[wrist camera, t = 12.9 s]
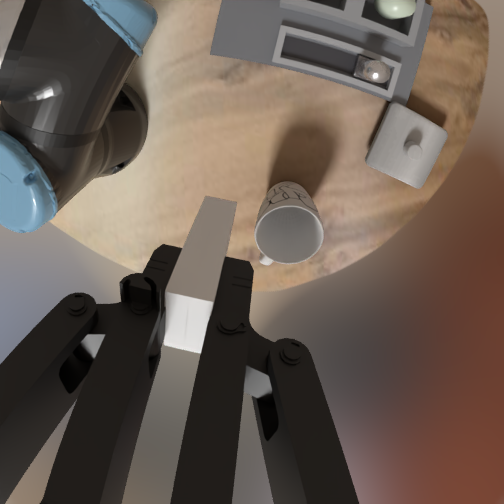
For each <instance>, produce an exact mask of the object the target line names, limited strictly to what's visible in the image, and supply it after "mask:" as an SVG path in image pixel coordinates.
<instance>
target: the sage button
mask: <svg viewBox="0 0 504 504" xmlns="http://www.w3.org/2000/svg"><path fill="white" fill-rule="evenodd" d="M374 6H375V9H376V11H377V12H378V13H379V14H380V15H381V16H382V17H384V18H386V19H391V20H393V19H398V18H403V17H407V16H410V15H412V14H413V13H414V12H415V9H416V2H415V0H374Z"/></svg>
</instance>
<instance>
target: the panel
mask: <svg viewBox="0 0 504 504" xmlns="http://www.w3.org/2000/svg"><path fill="white" fill-rule="evenodd" d="M415 2H416V9H415V12H414V13H413V14H412V15H410V16H407V17H403V18H398V19H393V20H391V19H386V18H384V17H382V16H381V15H380V14H379V13H378V12H377V11H376V9H375V6H374V0H222V3H221V7H220V11H219V15H218V20H217V24H216V29H215V33H214V38H213V42H212V47H211V52H210V55H217V56H223V57H230V58H236V59H242V60H247V61H252V62H257V63H262V64H267V65H272V66H276V67H281V68H285V69H289V70H293V71H297V72H301V73H305V74H309V75H312V76H316V77H319V78H323V79H326V80H330V81H333V82H336V83H339V84H343V85H346V86H349V87H352V88H355V89H358V90H361V91H363V92H366V93H369V94H372V95H374V96H377V97H380V98H382V99H385V100H388V101H390V102H397V103H399V104H401V105H403V106H405V107H406V104H407V101H408V98H409V95H410V92H411V89H412V85H413V82H414V79H415V75H416V72H417V69H418V65H419V62H420V58H421V55H422V51H423V47H424V43H425V40H426V36H427V32H428V28H429V24H430V20H431V16H432V11H433V7H432V6H430V5H429V4H427V3H425V0H415ZM357 56H362V57H365V58H367V59H370V60H378V61H383V62H385V63H386V64H387V65H388V66H389V68H390V77H389V79H388V80H387V81H386V82H384V83H377V82H375V83H372V82H370V81H367V80H364V79H361V78H358V77H356V76H353V75H352V71H353V68H354V64H355V61H356V57H357Z"/></svg>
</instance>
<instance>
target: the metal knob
mask: <svg viewBox="0 0 504 504" xmlns="http://www.w3.org/2000/svg"><path fill="white" fill-rule="evenodd" d="M352 75H353V76H356V77H358V78H361V79H364V80H367V81H370V82H372V83H375V82H377V83H384V82H386V81H387V80H388V79H389V77H390V68H389V66H388V65H387V64H386V63H385V62H383V61H378V60H370V59H367V58H365V57H362V56H357V57H356V61H355V64H354V68H353V71H352Z"/></svg>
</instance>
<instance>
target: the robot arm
mask: <svg viewBox="0 0 504 504" xmlns="http://www.w3.org/2000/svg"><path fill="white" fill-rule="evenodd" d="M157 19H158V17H157V12H156V10H155V9H154V7H153V6H152V5H150V4H149V3H147V2H146V1H144V0H0V101H1V104H0V224H1V225H3V226H4V227H6V228H7V229H10V230H12V231H15V232H19V233H25V232H33V231H35V230H37V229H38V228H40V227H41V226H42V225H43V224H45V223H46V222H48V221H49V220H51V219H52V218H54V216H55V215H56V213H57V212H58V211H59V210H60V209H61V208H62V207H63V206H64V205H65V204H66V203H67V202H68V201H69V200H71V199H72V198H73V197H74V196H75V195H76V194H77V193H78V192H79V191H80V190H81V189H82V188H84V187H85V186H86V185H87V184H88V183H89V182H90V181H91V180H93V179H94V178H99V177H104V176H109V175H112V174H115V173H117V172H119V171H121V170H122V169H124V168H125V167H126V166H128V165H129V164H130V163H131V162H132V161H133V160H134V159H135V158H136V157H137V156H138V154H139V153H140V151H141V149H142V147H143V145H144V142H145V139H146V134H147V117H146V112H145V108H144V106H143V103H142V101H141V99H140V98H139V96H138V95H137V93H136V92H135V91H134V90H133V89H132V88H131V87H130V86H129V85H127V84H126V83H124V82H125V80H126V78H127V77H128V75H129V73H130V71H131V69H132V68H133V66H134V64H135V62H136V61H137V59H138V57H139V56H140V57H141V55H142V54H143V50H142V49H143V48H144V46H145V44H146V42H147V40H148V39H149V37H150V35H151V33H152V31H153V30H154V28H155V26H156V24H157ZM236 206H237V202H234V201H229V200H224V199H220V198H215V197H210V196H205V198H204V201H203V203H202V205H201V207H200V209H199V212H198V214H197V216H196V218H195V221H194V223H193V225H192V228H191V230H190V232H189V234H188V237H187V239H186V241H185V244H184V246H183V248H179V247H175V246H170V245H165V244H162V245H161V246H160V247H158V248H157V249H156V250H154V252H153V254H152V256H151V258H150V261H148V263H147V265H146V267H145V269H144V271H143V273H135V274H130V275H128V276H126V277H124V278H123V279H122V280H121V281H120V294H121V302H119V303H114V304H96V302H95V300H94V298H93V297H91V296H90V295H88V294H85V293H73V294H70V295H68V296H66V297H65V298H63V299H62V300H61V301H60V303H58V304H57V305H56V306H55V307H54V308H53V309H52V310H51V311H50V312H49V313H48V314H47V315H46V316H45V317H44V318H43V319H42V320H41V321H40V322H39V323H38V324H37V325H36V327H34V328H33V329H32V331H31V332H30V333H29V334H28V335H27V336H26V337H25V338H24V339H23V340H22V341H21V342H20V343H19V344H18V346H16V348H15V349H14V350H13V351H12V352H11V353H10V354H9V355H8V356H7V358H6V359H5V360H4V361H3V362H2V363H1V364H0V504H5V503H6V501H7V499H8V498H9V496H10V495H11V493H12V492H13V490H14V489H15V487H16V485H17V484H18V482H19V481H20V479H21V478H22V476H23V475H24V473H25V472H26V470H27V469H28V467H29V466H30V464H31V463H32V461H33V460H34V458H35V457H36V456H37V454H38V453H39V451H40V450H41V448H42V447H43V445H44V444H45V443H46V441H47V440H48V438H49V437H50V435H51V434H52V433H53V431H54V430H55V428H56V427H57V425H58V424H59V423H60V421H61V420H62V418H63V417H64V416H65V414H66V413H67V412H68V410H69V409H70V408H71V406H72V405H73V403H74V402H75V401H76V399H77V398H78V399H77V401H76V404H75V406H74V409H73V411H72V414H71V416H70V419H69V422H68V425H67V428H66V430H65V432H64V435H63V438H62V441H61V444H60V447H59V449H58V452H57V455H56V458H55V461H54V464H53V467H52V470H51V474H50V477H49V480H48V483H47V487H46V490H45V494H44V497H43V499H42V501H41V503H40V504H121V503H122V499H123V494H124V490H125V486H126V482H127V478H128V473H129V470H130V466H131V461H132V458H133V454H134V450H135V446H136V442H137V438H138V435H139V431H140V427H141V423H142V420H143V416H144V413H145V409H146V405H147V402H148V398H149V395H150V392H151V388H152V385H153V381H154V378H155V374H156V371H157V368H158V365H159V361H160V358H161V346H162V343H163V340H164V345H166V346H170V347H174V348H178V349H183V350H187V351H192V352H197V353H201V355H200V360H199V365H198V369H197V374H196V378H195V383H194V387H193V392H192V397H191V401H190V406H189V411H188V416H187V421H186V426H185V430H184V435H183V440H182V445H181V450H180V455H179V460H178V466H177V471H176V476H175V481H174V487H173V492H172V497H171V503H170V504H232V496H233V487H234V477H235V468H236V459H237V449H238V440H239V431H240V421H241V412H242V402H243V393H244V392H245V393H247V394H249V395H251V396H252V400H253V405H254V410H255V415H256V420H257V425H258V430H259V435H260V440H261V445H262V449H263V455H264V460H265V464H266V468H267V474H268V478H269V483H270V487H271V492H272V497H273V502H274V504H359V502H358V498H357V495H356V492H355V488H354V485H353V482H352V479H351V475H350V473H349V469H348V466H347V463H346V460H345V457H344V453H343V450H342V447H341V444H340V441H339V438H338V435H337V432H336V428H335V425H334V422H333V419H332V416H331V413H330V410H329V407H328V404H327V401H326V398H325V395H324V392H323V389H322V386H321V383H320V380H319V377H318V374H317V371H316V369H315V365H314V362H313V359H312V356H311V354H310V352H309V350H308V348H307V347H306V346H305V345H304V344H302V343H301V342H299V341H297V340H295V339H289V338H284V339H279V340H277V341H276V342H272V341H270V340H268V339H266V338H264V337H262V336H260V335H259V334H258V333H257V332H255V331H254V329H253V328H252V327H251V324H250V322H249V313H250V303H251V293H252V284H253V274H254V270H253V268H252V266H251V264H250V262H249V261H245V260H240V259H235V258H230V257H226V254H227V250H228V245H229V240H230V235H231V230H232V225H233V220H234V216H235V211H236Z"/></svg>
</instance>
